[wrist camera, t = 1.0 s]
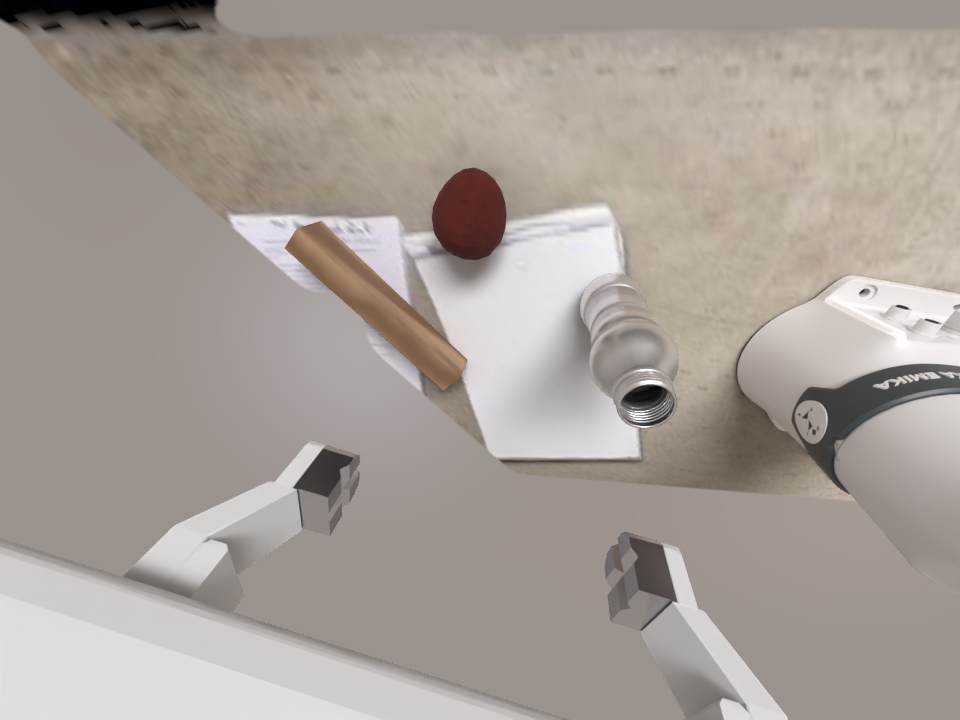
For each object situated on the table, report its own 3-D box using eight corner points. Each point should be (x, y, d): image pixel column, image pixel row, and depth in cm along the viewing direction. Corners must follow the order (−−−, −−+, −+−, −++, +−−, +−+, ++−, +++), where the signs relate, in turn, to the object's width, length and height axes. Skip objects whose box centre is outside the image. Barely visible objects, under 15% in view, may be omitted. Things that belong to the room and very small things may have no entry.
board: (320, 221, 42) (296, 228, 38) (467, 359, 47) (459, 378, 44) (308, 239, 43) (284, 248, 39) (452, 371, 49) (443, 390, 45)
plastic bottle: (570, 316, 42) (578, 430, 25) (591, 259, 38) (619, 349, 21) (624, 331, 41) (670, 457, 25) (651, 275, 38) (726, 379, 21)
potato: (517, 171, 35) (509, 176, 29) (503, 256, 40) (493, 275, 34) (445, 160, 36) (423, 162, 30) (439, 245, 40) (419, 261, 35)
